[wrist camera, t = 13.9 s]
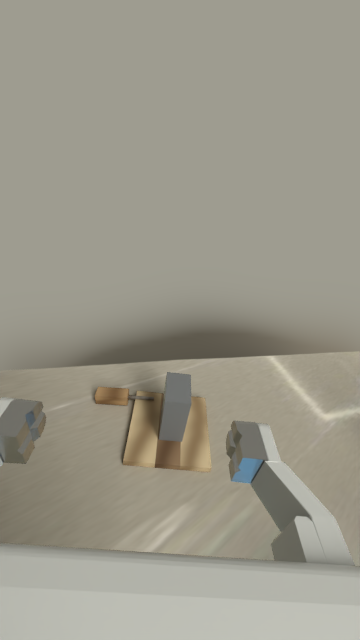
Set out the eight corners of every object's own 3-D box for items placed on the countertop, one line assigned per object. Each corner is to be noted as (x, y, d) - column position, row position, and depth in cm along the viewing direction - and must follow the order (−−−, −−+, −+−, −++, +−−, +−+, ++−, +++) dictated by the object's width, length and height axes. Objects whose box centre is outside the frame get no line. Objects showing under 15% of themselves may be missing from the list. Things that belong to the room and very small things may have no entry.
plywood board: (122, 464, 39) (123, 460, 39) (136, 394, 51) (137, 390, 51) (209, 472, 40) (211, 468, 40) (204, 401, 52) (205, 397, 52)
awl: (95, 403, 48) (94, 395, 47) (99, 394, 50) (98, 386, 49) (152, 406, 49) (153, 399, 47) (153, 397, 50) (154, 390, 49)
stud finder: (158, 439, 43) (164, 400, 37) (161, 409, 48) (166, 372, 42) (182, 441, 43) (191, 403, 37) (182, 412, 48) (190, 374, 43)
